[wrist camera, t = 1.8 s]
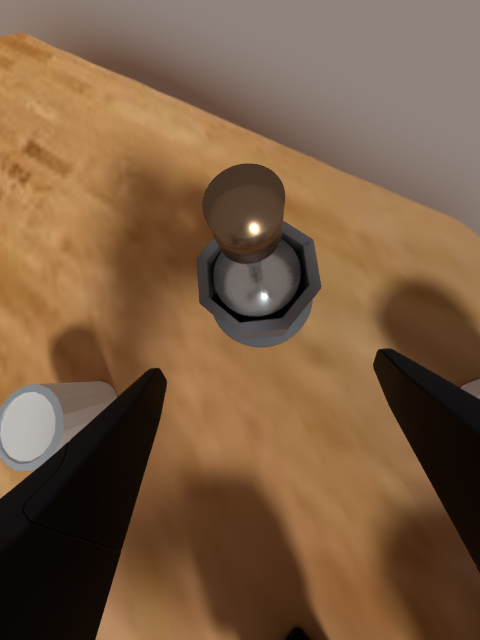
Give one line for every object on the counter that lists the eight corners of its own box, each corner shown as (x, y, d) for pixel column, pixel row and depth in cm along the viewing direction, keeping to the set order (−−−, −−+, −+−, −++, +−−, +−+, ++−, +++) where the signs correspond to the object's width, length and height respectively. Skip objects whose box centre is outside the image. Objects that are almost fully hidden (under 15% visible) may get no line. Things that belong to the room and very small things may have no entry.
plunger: (305, 312, 15) (344, 264, 7) (218, 321, 16) (166, 289, 8) (293, 230, 17) (315, 113, 8) (212, 244, 17) (163, 148, 9)
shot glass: (133, 393, 23) (77, 410, 16) (103, 449, 23) (32, 491, 16) (90, 365, 25) (21, 369, 18) (60, 417, 24) (-23, 443, 17)
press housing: (318, 342, 21) (343, 335, 14) (216, 351, 23) (190, 350, 15) (301, 231, 24) (314, 176, 16) (209, 246, 25) (184, 202, 18)
